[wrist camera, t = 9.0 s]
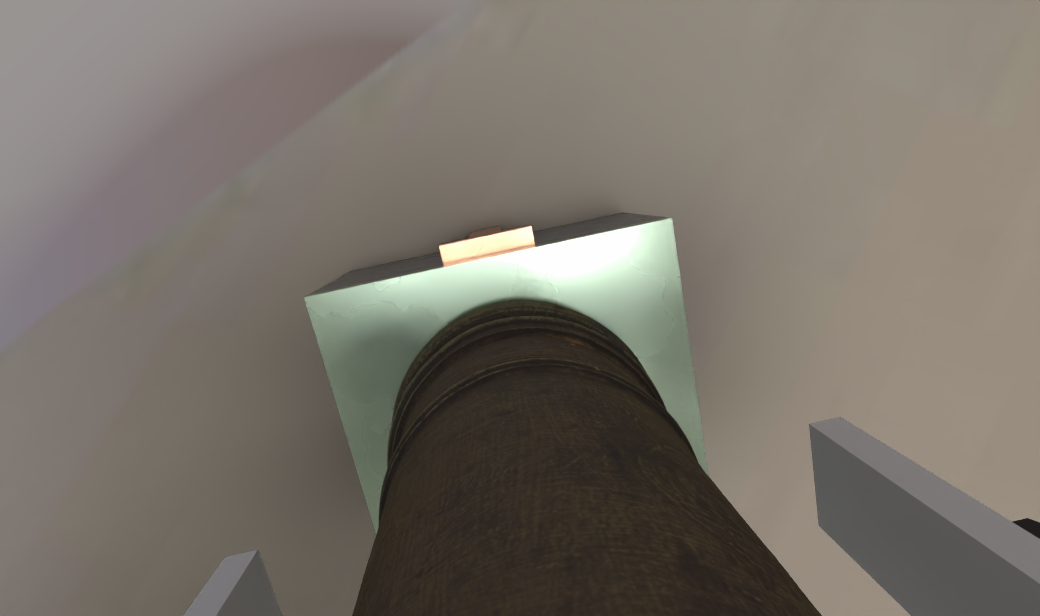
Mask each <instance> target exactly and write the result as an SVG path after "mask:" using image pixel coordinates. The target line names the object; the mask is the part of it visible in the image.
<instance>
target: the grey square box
mask: <svg viewBox="0 0 1040 616" xmlns="http://www.w3.org/2000/svg"><path fill="white" fill-rule="evenodd" d="M439 248H440V252H438V253H433V254H429V255H424V256H419V257H415V258H410V259H405V260H401V261H396V262H392V263H387V264H382V265H378V266H373V267H368V268H364V269H359V270H354V271H350V272H348V273H346V274H345V275H343V276H341V277H339V278H338V279H336V280H334V281H332V282H330V283H329V284H327V285H325V286H323V287H322V288H320V289H318V290H316V291H314V292H313V293H311V294H309V295H307V296H306V297H304V299H305V303H306V306H307V309H308V312H309V316H310V319H311V322H312V326H313V329H314V332H315V335H316V339H317V342H318V345H319V349H320V352H321V355H322V359H323V362H324V365H325V368H326V372H327V375H328V378H329V382H330V385H331V388H332V391H333V395H334V398H335V401H336V405H337V408H338V411H339V414H340V418H341V421H342V424H343V428H344V431H345V434H346V437H347V441H348V444H349V447H350V451H351V454H352V457H353V461H354V464H355V467H356V470H357V474H358V477H359V480H360V484H361V487H362V490H363V493H364V497H365V500H366V503H367V507H368V510H369V513H370V516H371V520H372V523H373V526H374V530H375V533H376V535H377V531H378V527H379V504H380V496H381V490H382V485H383V481H384V477H385V474H386V471H387V449H388V439H389V433H390V428H391V424H392V416H393V411H394V406H395V402H396V398H397V395H398V392H399V389H400V386H401V383H402V381H403V379H404V377H405V375H406V373H407V371H408V369H409V367H410V366H411V364H412V363H413V361H414V360H415V358H416V357H417V355H418V354H419V353H420V352H421V351H422V350H423V349H424V348H425V346H426V345H427V344H428V343H429V342H430V341H431V340H432V338H433V337H435V336H436V335H437V334H438V333H439V332H440V331H441V330H443V329H444V328H445V327H446V326H448V325H449V324H450V323H452V322H453V321H455V320H456V319H458V318H460V317H461V316H463V315H465V314H467V313H469V312H471V311H474V310H476V309H479V308H482V307H485V306H488V305H492V304H497V303H502V302H510V301H534V302H543V303H549V304H554V305H558V306H562V307H565V308H568V309H572V310H574V311H577V312H579V313H582V314H584V315H586V316H588V317H590V318H592V319H594V320H595V321H597V322H599V323H600V324H602V325H603V326H605V327H606V328H608V329H609V330H610V331H612V332H613V333H614V334H615V335H616V336H618V337H619V338H620V339H621V340H622V341H623V342H624V343H625V344H626V345H627V346H628V347H629V348H630V349H631V351H632V352H633V353H634V354H635V356H636V357H637V358H638V360H639V361H640V363H641V364H642V366H643V367H644V369H645V371H646V372H647V374H648V376H649V377H650V379H651V380H652V382H653V383H654V385H655V387H656V389H657V390H658V392H659V394H660V396H661V398H662V400H663V402H664V405H665V406H666V409H667V411H668V412H669V413H670V414H671V416H672V417H673V418H674V419H675V420H676V422H677V423H678V425H679V426H680V427H681V429H682V430H683V432H684V434H685V435H686V437H687V439H688V440H689V442H690V444H691V446H692V448H693V451H694V453H695V455H696V458H697V460H698V463H699V464H700V466H701V467H702V469H703V470H704V471H705V473H706V474H707V475H708V468H707V461H706V454H705V447H704V440H703V433H702V426H701V419H700V412H699V405H698V398H697V391H696V384H695V377H694V370H693V363H692V356H691V349H690V342H689V335H688V328H687V321H686V314H685V307H684V300H683V293H682V286H681V278H680V271H679V264H678V257H677V250H676V243H675V236H674V229H673V222H672V218H667V217H658V216H649V215H640V214H630V213H619V214H615V215H610V216H605V217H601V218H596V219H592V220H587V221H582V222H578V223H573V224H568V225H564V226H559V227H554V228H550V229H545V230H540V231H536V232H532V227H531V226H530V225H525V226H521V227H516V228H511V229H507V230H502V231H501V229H500V227H499V226H496V227H491V228H486V229H482V230H477V231H472V232H470V235H469V238H465V239H460V240H455V241H451V242H446V243H441V244H440V245H439ZM708 476H709V475H708Z"/></svg>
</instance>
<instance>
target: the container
mask: <svg viewBox="0 0 1040 616" xmlns="http://www.w3.org/2000/svg"><path fill="white" fill-rule="evenodd" d="M352 616H822V615H821V614H820V613H819V612H818V610H817V609H816V608H815V607H814V606H813V604H812V603H811V602H810V601H809V600H808V598H807V597H806V596H805V594H804V593H803V592H802V591H801V589H800V588H799V587H798V585H797V584H796V583H795V582H794V580H793V579H792V578H791V577H790V575H789V574H788V573H787V571H786V570H785V569H784V568H783V566H782V565H781V564H780V563H779V562H778V560H777V559H776V557H775V556H774V555H773V554H772V553H771V552H770V550H769V549H768V548H767V547H766V546H765V545H764V543H763V542H762V541H761V540H760V539H759V537H758V536H757V535H756V534H755V533H754V531H753V530H752V529H751V528H750V527H749V525H748V524H747V523H746V522H745V520H744V519H743V518H742V517H741V516H740V514H739V513H738V512H737V511H736V510H735V508H734V507H733V506H732V504H731V503H730V502H729V501H728V500H727V499H726V497H725V496H724V495H723V494H722V492H721V491H720V490H719V489H718V488H717V486H716V485H715V484H714V482H713V481H712V480H711V479H710V477H709V476H708V475H707V474H706V473H705V471H704V470H703V469H702V467H701V466H700V464H699V463H698V460H697V458H696V455H695V453H694V451H693V448H692V446H691V444H690V442H689V440H688V439H687V437H686V435H685V434H684V432H683V430H682V429H681V427H680V426H679V425H678V423H677V422H676V420H675V419H674V418H673V417H672V416H671V414H670V413H669V412H668V411H667V409H666V406H665V405H664V402H663V400H662V398H661V396H660V394H659V392H658V390H657V389H656V387H655V385H654V383H653V382H652V380H651V379H650V377H649V376H648V374H647V372H646V371H645V369H644V367H643V366H642V364H641V363H640V361H639V360H638V358H637V357H636V356H635V354H634V353H633V352H632V351H631V349H630V348H629V347H628V346H627V345H626V344H625V343H624V342H623V341H622V340H621V339H620V338H619V337H618V336H616V335H615V334H614V333H613V332H612V331H610V330H609V329H608V328H606V327H605V326H603V325H602V324H600V323H599V322H597V321H595V320H594V319H592V318H590V317H588V316H586V315H584V314H582V313H579V312H577V311H574V310H572V309H568V308H565V307H562V306H558V305H554V304H549V303H543V302H534V301H510V302H502V303H497V304H492V305H488V306H485V307H482V308H479V309H476V310H474V311H471V312H469V313H467V314H465V315H463V316H461V317H460V318H458V319H456V320H455V321H453V322H452V323H450V324H449V325H448V326H446V327H445V328H444V329H443V330H441V331H440V332H439V333H438V334H437V335H436V336H435V337H433V338H432V340H431V341H430V342H429V343H428V344H427V345H426V346H425V348H424V349H423V350H422V351H421V352H420V353H419V354H418V355H417V357H416V358H415V360H414V361H413V363H412V364H411V366H410V367H409V369H408V371H407V373H406V375H405V377H404V379H403V381H402V383H401V386H400V389H399V392H398V395H397V398H396V402H395V406H394V411H393V416H392V424H391V428H390V433H389V439H388V449H387V471H386V474H385V477H384V481H383V485H382V490H381V496H380V504H379V527H378V531H377V535H376V538H375V541H374V545H373V548H372V551H371V554H370V558H369V561H368V564H367V567H366V571H365V574H364V577H363V581H362V584H361V588H360V591H359V595H358V599H357V602H356V605H355V609H354V612H353V615H352Z"/></svg>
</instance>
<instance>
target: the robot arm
mask: <svg viewBox="0 0 1040 616" xmlns="http://www.w3.org/2000/svg"><path fill="white" fill-rule="evenodd" d="M809 427H810V438H811V449H812V459H813V470H814V481H815V491H816V502H817V513H818V523H819V526H820V527H821V528H822V529H823V530H824V531H825V532H826V533H827V534H828V535H829V536H830V537H831V538H832V539H833V540H834V541H835V542H836V543H837V544H838V545H839V546H840V547H841V548H842V549H843V550H844V551H845V552H847V553H848V554H849V555H850V556H851V557H852V558H853V559H854V560H855V561H856V562H857V563H858V564H859V565H860V566H861V567H862V568H863V569H864V570H865V571H866V572H867V573H868V574H869V575H870V576H871V577H872V578H873V579H874V580H875V581H876V582H877V583H878V584H879V585H880V586H881V587H882V588H883V589H884V590H886V591H887V592H888V593H889V594H890V595H891V596H892V597H893V598H894V599H895V600H896V601H897V602H898V603H899V604H900V605H901V606H902V607H903V608H904V609H905V610H906V611H907V612H908V613H909V614H910V615H911V616H1040V523H1039V522H1036V521H1034V520H1031V519H1028V518H1026V519H1022V520H1018V521H1013V522H1011V521H1010V520H1008V519H1006V518H1005V517H1003V516H1001V515H1000V514H998V513H997V512H995V511H993V510H992V509H990V508H988V507H987V506H985V505H983V504H982V503H980V502H979V501H977V500H975V499H974V498H972V497H970V496H969V495H967V494H965V493H964V492H962V491H961V490H959V489H957V488H956V487H954V486H952V485H951V484H949V483H948V482H946V481H944V480H943V479H941V478H939V477H938V476H936V475H934V474H933V473H931V472H930V471H928V470H926V469H925V468H923V467H921V466H920V465H918V464H917V463H915V462H913V461H912V460H910V459H908V458H907V457H905V456H903V455H902V454H900V453H899V452H897V451H895V450H894V449H892V448H890V447H889V446H887V445H886V444H884V443H882V442H881V441H879V440H877V439H876V438H874V437H872V436H871V435H869V434H868V433H866V432H864V431H863V430H861V429H859V428H858V427H856V426H854V425H853V424H851V423H850V422H848V421H846V420H845V419H843V418H841V417H838V418H833V419H829V420H825V421H820V422H816V423H811V424H809ZM183 616H282V614H281V612H280V609H279V606H278V603H277V601H276V598H275V595H274V592H273V590H272V587H271V584H270V581H269V579H268V576H267V573H266V570H265V568H264V565H263V562H262V559H261V556H260V554H259V551H258V550H254V551H250V552H245V553H241V554H236V555H232V556H228V557H225V558H224V559H223V560H222V562H221V563H220V565H219V566H218V567H217V569H216V570H215V572H214V573H213V574H212V576H211V577H210V579H209V580H208V581H207V583H206V584H205V586H204V587H203V588H202V590H201V591H200V593H199V594H198V595H197V597H196V598H195V600H194V601H193V602H192V604H191V605H190V607H189V608H188V609H187V611H186V612H185V614H184V615H183Z"/></svg>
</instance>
